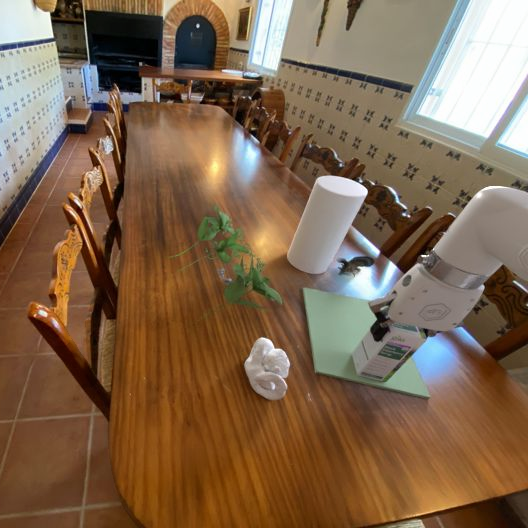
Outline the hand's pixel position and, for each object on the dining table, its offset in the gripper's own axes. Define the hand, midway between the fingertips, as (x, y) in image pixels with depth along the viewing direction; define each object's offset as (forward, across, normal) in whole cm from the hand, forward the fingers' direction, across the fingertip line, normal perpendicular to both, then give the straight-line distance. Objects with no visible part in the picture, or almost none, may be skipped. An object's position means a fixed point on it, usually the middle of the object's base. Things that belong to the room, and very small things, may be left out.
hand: (392, 339), depth 57 cm
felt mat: (+11, 0, +9) cm, 14 cm away
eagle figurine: (+11, +4, +34) cm, 36 cm away
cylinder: (+11, -8, +36) cm, 39 cm away
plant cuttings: (+11, -35, +14) cm, 39 cm away
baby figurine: (+11, -22, -7) cm, 26 cm away
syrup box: (+10, 0, 0) cm, 10 cm away
